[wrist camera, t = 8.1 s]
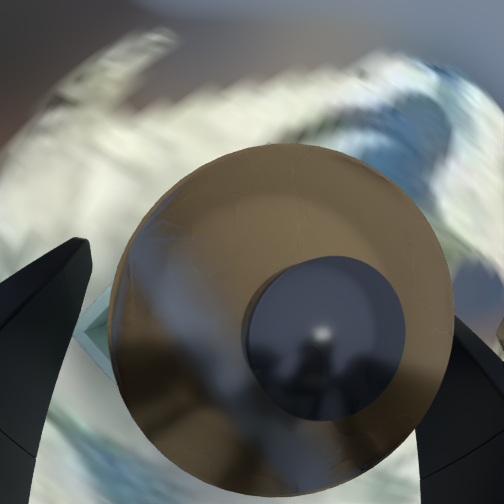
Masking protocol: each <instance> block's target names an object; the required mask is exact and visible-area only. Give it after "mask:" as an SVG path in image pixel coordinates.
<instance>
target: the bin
mask: <svg viewBox="0 0 504 504" xmlns="http://www.w3.org/2000/svg"><path fill="white" fill-rule="evenodd" d="M496 335H497V337H498V338H499V340H500V342H501V344H502V346H503V348H504V318H503V320H502V322H501V324H500V326H499V328H498V330H497V332H496Z"/></svg>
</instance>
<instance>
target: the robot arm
mask: <svg viewBox="0 0 504 504" xmlns="http://www.w3.org/2000/svg"><path fill="white" fill-rule="evenodd" d="M91 273H92V257H91V250H90V243H89V241H88V240H87V239H84V238H78V237H73V238H71V239H70V240H68V241H66V242H65V243H63V244H61V245H59V246H58V247H56V248H54V249H53V250H51V251H49V252H48V253H46V254H45V255H43V256H41V257H40V258H38V259H36V260H35V261H33V262H32V263H30V264H29V265H27V266H25V267H24V268H22V269H21V270H19V271H18V272H16V273H15V274H13V275H12V276H10V277H9V278H7V279H6V280H4V281H3V282H1V283H0V504H28V503H29V496H30V490H31V484H32V478H33V473H34V467H35V462H36V459H35V458H36V457H37V452H38V448H39V443H40V439H41V435H42V431H43V427H44V423H45V419H46V415H47V412H48V408H49V404H50V401H51V398H52V394H53V391H54V388H55V384H56V381H57V378H58V375H59V372H60V369H61V366H62V363H63V360H64V357H65V354H66V351H67V348H68V346H69V343H70V340H71V337H72V335H73V332H74V329H75V327H76V324H77V321H78V318H79V314H80V311H81V307H82V303H83V300H84V296H85V293H86V289H87V286H88V283H89V280H90V276H91ZM415 433H416V441H417V451H418V461H419V474H420V493H421V504H504V361H502V360H501V358H500V357H499V356H498V355H497V354H496V353H495V352H494V351H493V350H492V349H490V348H489V347H488V346H487V345H486V344H485V343H484V342H483V341H482V340H481V339H480V338H479V337H478V336H477V335H476V334H475V333H474V332H473V331H472V330H471V329H470V328H469V327H467V326H466V325H465V324H464V323H463V322H462V321H461V320H460V319H459V318H457V316H456V315H454V334H453V341H452V348H451V353H450V357H449V361H448V365H447V368H446V371H445V374H444V377H443V380H442V382H441V385H440V387H439V390H438V392H437V394H436V396H435V398H434V400H433V402H432V403H431V405H430V407H429V409H428V410H427V412H426V413H425V415H424V417H423V418H422V420H421V421H420V422H419V424H418V425H417V427H416V428H415Z"/></svg>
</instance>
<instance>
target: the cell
mask: <svg viewBox="0 0 504 504" xmlns="http://www.w3.org/2000/svg"><path fill="white" fill-rule="evenodd" d="M454 311H455V309H454V297H453V288H452V283H451V278H450V273H449V269H448V265H447V262H446V259H445V256H444V253H443V250H442V248H441V246H440V244H439V241H438V239H437V237H436V235H435V233H434V231H433V229H432V228H431V226H430V224H429V223H428V221H427V220H426V218H425V216H424V215H423V213H422V212H421V211H420V209H419V208H418V207H417V206H416V204H415V203H414V202H413V201H412V200H411V198H410V197H409V196H408V195H407V194H406V193H405V192H404V191H403V190H402V189H401V188H400V187H399V186H398V185H396V184H395V183H394V182H393V181H392V180H390V179H389V178H388V177H386V176H385V175H384V174H382V173H381V172H380V171H378V170H376V169H375V168H373V167H371V166H370V165H368V164H366V163H364V162H362V161H361V160H359V159H356V158H354V157H351V156H349V155H346V154H344V153H341V152H338V151H335V150H331V149H327V148H323V147H319V146H312V145H304V144H269V145H263V146H257V147H250V148H246V149H243V150H240V151H236V152H233V153H230V154H227V155H224V156H222V157H220V158H218V159H215V160H213V161H211V162H209V163H207V164H205V165H203V166H201V167H199V168H198V169H196V170H195V171H193V172H192V173H190V174H189V175H187V176H186V177H184V178H183V179H181V180H180V181H179V182H178V183H176V184H175V185H174V186H173V187H172V188H171V189H170V190H168V191H167V192H166V193H165V194H164V195H163V196H162V197H161V198H160V199H159V200H158V201H157V202H156V203H155V205H154V206H153V207H152V208H151V209H150V210H149V212H148V213H147V214H146V215H145V216H144V218H143V219H142V221H141V222H140V224H139V225H138V227H137V229H136V230H135V232H134V233H133V235H132V237H131V238H130V240H129V242H128V244H127V246H126V248H125V251H124V253H123V255H122V257H121V260H120V262H119V264H118V267H117V271H116V274H115V278H114V281H113V285H112V289H111V294H110V301H109V309H108V318H107V320H108V347H109V353H110V359H111V365H112V370H113V373H114V376H115V380H116V383H117V386H118V388H119V391H120V394H121V396H122V398H123V401H124V403H125V404H126V406H127V408H128V410H129V412H130V414H131V416H132V418H133V419H134V421H135V422H136V424H137V425H138V426H139V428H140V429H141V431H142V432H143V433H144V435H145V436H146V437H147V439H148V440H149V441H150V442H151V443H152V444H153V445H154V446H155V447H156V448H157V449H158V450H159V451H160V452H161V453H162V454H163V455H164V456H165V457H167V458H168V459H169V460H170V461H172V462H173V463H174V464H176V465H177V466H178V467H179V468H181V469H182V470H184V471H185V472H187V473H189V474H191V475H192V476H194V477H196V478H198V479H200V480H202V481H203V482H206V483H208V484H211V485H213V486H216V487H219V488H221V489H224V490H227V491H232V492H236V493H240V494H244V495H251V496H260V497H292V496H299V495H305V494H311V493H316V492H319V491H323V490H326V489H329V488H333V487H335V486H338V485H340V484H343V483H345V482H347V481H350V480H352V479H354V478H356V477H358V476H359V475H361V474H363V473H365V472H366V471H368V470H370V469H371V468H373V467H374V466H376V465H377V464H378V463H380V462H381V461H382V460H384V459H385V458H386V457H388V456H389V455H390V454H391V453H392V452H393V451H394V450H395V449H396V448H398V447H399V446H400V445H401V444H402V443H403V442H404V441H405V440H406V438H407V437H408V436H409V435H410V434H411V433H412V431H413V430H414V429H415V428H416V427H417V425H418V424H419V422H420V421H421V420H422V418H423V417H424V415H425V413H426V412H427V410H428V409H429V407H430V405H431V403H432V402H433V400H434V398H435V396H436V394H437V392H438V390H439V387H440V385H441V382H442V380H443V377H444V374H445V371H446V368H447V365H448V361H449V357H450V353H451V348H452V341H453V334H454Z"/></svg>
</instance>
